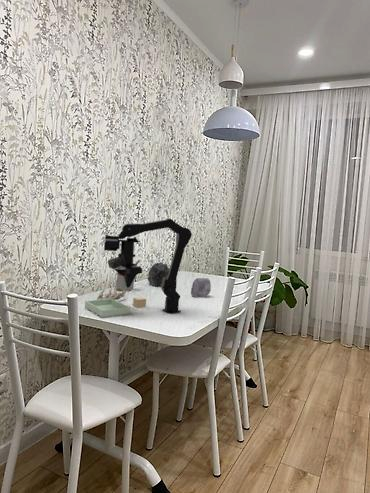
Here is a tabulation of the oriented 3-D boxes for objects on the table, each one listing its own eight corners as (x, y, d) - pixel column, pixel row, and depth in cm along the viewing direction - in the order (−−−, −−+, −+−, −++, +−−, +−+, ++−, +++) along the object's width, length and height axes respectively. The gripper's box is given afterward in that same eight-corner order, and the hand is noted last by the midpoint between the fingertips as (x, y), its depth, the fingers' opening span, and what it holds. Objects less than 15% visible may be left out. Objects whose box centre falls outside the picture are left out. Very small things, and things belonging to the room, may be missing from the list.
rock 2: (205, 295, 218) (206, 277, 217) (210, 297, 213) (211, 279, 212) (189, 296, 213) (190, 277, 212) (194, 298, 209) (195, 279, 208)
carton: (145, 307, 183) (146, 299, 183) (137, 308, 181) (138, 299, 180) (141, 305, 187) (141, 297, 187) (132, 305, 184) (133, 297, 184)
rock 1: (170, 288, 231) (172, 264, 229) (147, 287, 229) (149, 263, 227) (168, 283, 247) (169, 260, 246) (146, 282, 245) (148, 259, 244)
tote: (129, 314, 168) (129, 307, 168) (101, 318, 160) (102, 310, 160) (110, 305, 182) (111, 298, 182) (84, 307, 174) (85, 301, 174)
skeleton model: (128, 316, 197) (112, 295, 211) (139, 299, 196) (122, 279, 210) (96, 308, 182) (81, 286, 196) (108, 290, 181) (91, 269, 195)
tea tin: (133, 289, 172) (134, 275, 172) (122, 290, 169) (123, 276, 168) (127, 286, 176) (128, 273, 176) (116, 287, 173) (117, 273, 173)
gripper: (101, 249, 174) (99, 283, 175) (120, 254, 159) (118, 291, 160) (123, 249, 180) (121, 281, 182) (143, 254, 166) (141, 290, 167)
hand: (125, 286), depth 173 cm, fingers closed on tea tin, 5 cm apart
